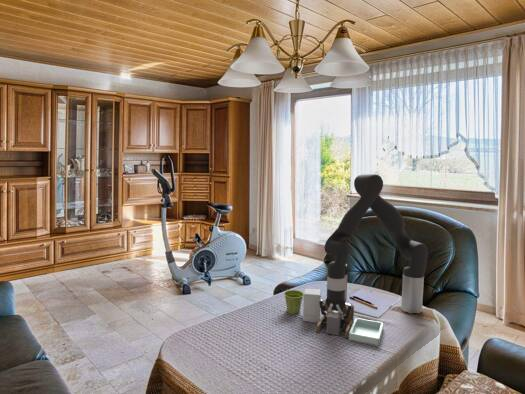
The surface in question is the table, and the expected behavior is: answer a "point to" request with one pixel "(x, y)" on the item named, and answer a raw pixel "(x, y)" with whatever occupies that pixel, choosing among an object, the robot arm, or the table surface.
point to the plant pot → (293, 300)
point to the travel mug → (346, 282)
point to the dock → (347, 321)
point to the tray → (366, 331)
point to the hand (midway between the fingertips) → (335, 325)
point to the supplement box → (311, 305)
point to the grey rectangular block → (333, 323)
